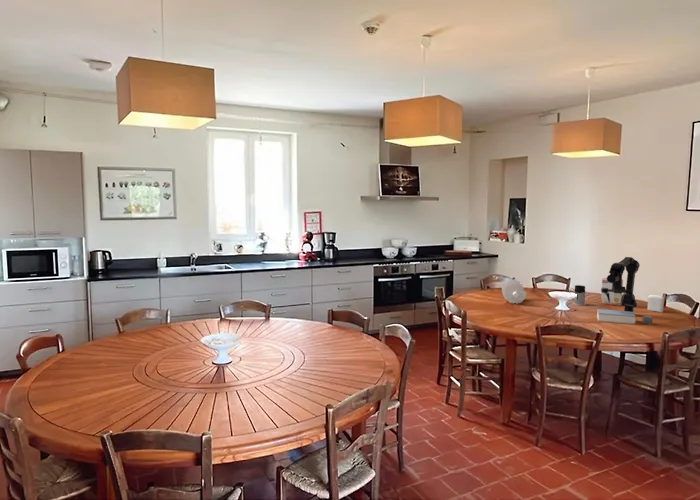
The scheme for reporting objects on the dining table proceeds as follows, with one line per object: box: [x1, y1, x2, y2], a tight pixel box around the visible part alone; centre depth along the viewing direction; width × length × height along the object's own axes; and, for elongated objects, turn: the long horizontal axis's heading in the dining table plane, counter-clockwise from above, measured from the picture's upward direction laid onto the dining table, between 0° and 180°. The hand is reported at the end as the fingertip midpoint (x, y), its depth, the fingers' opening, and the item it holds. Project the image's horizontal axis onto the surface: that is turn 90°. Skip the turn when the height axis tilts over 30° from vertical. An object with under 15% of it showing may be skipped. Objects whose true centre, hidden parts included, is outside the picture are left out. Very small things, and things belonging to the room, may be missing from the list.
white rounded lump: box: [501, 278, 528, 304], centre depth 383 cm, size 18×18×25 cm
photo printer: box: [647, 294, 665, 313], centre depth 349 cm, size 10×4×12 cm, turn 39°
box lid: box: [596, 308, 636, 318], centre depth 321 cm, size 12×22×1 cm, turn 66°
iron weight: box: [641, 315, 654, 326], centre depth 314 cm, size 5×5×5 cm
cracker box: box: [600, 277, 624, 307], centre depth 370 cm, size 14×6×21 cm, turn 50°
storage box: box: [596, 310, 636, 325], centre depth 322 cm, size 12×22×5 cm, turn 66°
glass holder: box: [568, 284, 586, 306], centre depth 371 cm, size 9×14×15 cm, turn 104°
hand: (615, 303), depth 323 cm, fingers open, 8 cm apart
